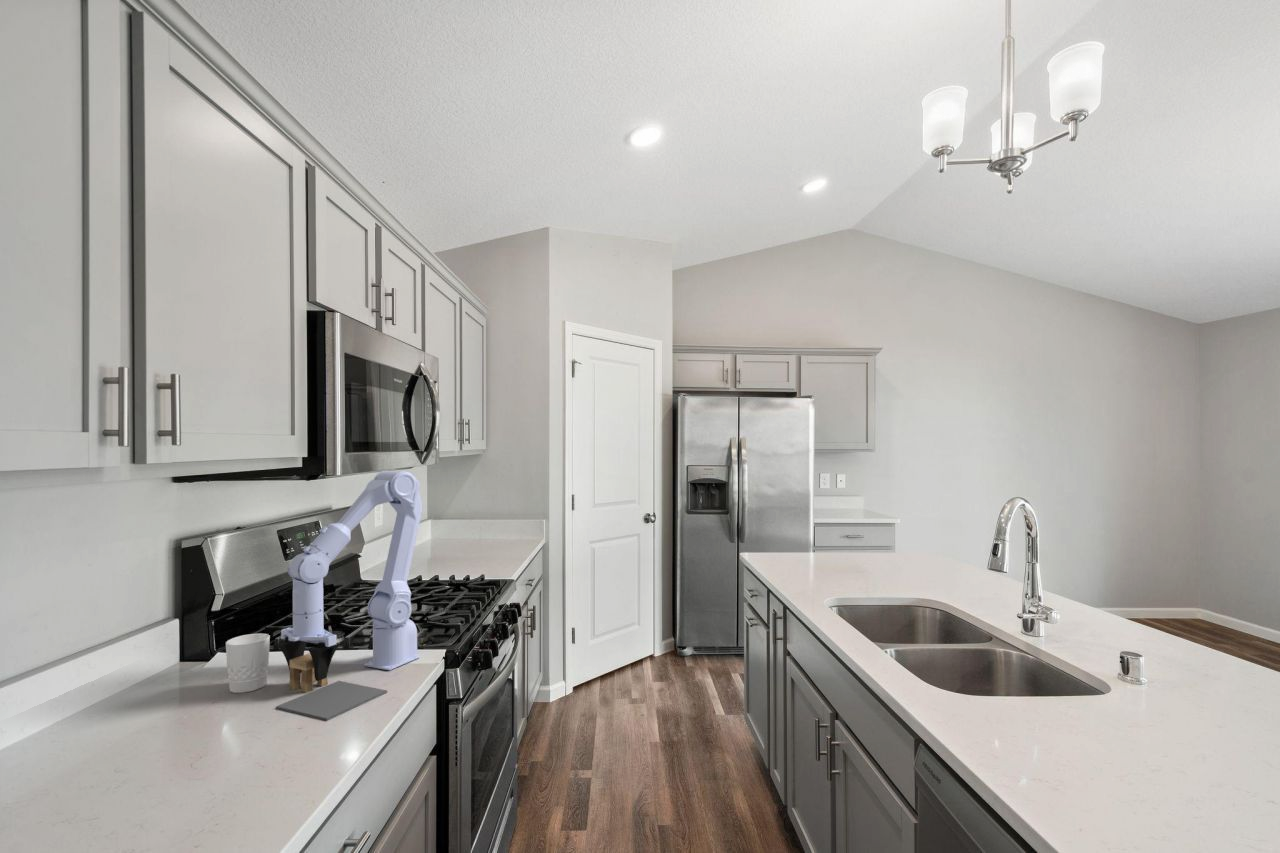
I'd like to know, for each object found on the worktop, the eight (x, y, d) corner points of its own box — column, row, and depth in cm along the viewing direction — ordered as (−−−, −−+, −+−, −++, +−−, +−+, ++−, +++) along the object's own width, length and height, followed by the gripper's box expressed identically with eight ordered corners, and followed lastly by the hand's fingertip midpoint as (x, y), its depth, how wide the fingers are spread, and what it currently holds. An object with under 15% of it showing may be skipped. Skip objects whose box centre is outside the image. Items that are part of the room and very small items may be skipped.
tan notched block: (311, 680, 135) (311, 652, 136) (327, 684, 133) (327, 655, 133) (289, 689, 131) (289, 660, 131) (306, 692, 129) (305, 663, 129)
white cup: (278, 680, 136) (278, 633, 136) (252, 694, 128) (252, 645, 129) (244, 679, 137) (244, 633, 137) (216, 694, 129) (216, 644, 129)
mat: (338, 682, 134) (338, 680, 134) (387, 692, 128) (387, 690, 128) (276, 708, 121) (276, 706, 121) (326, 720, 115) (326, 718, 115)
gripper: (267, 612, 132) (267, 678, 132) (315, 619, 126) (315, 688, 125) (298, 604, 138) (298, 667, 138) (345, 610, 132) (345, 676, 132)
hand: (308, 676), depth 132 cm, fingers open, 7 cm apart
